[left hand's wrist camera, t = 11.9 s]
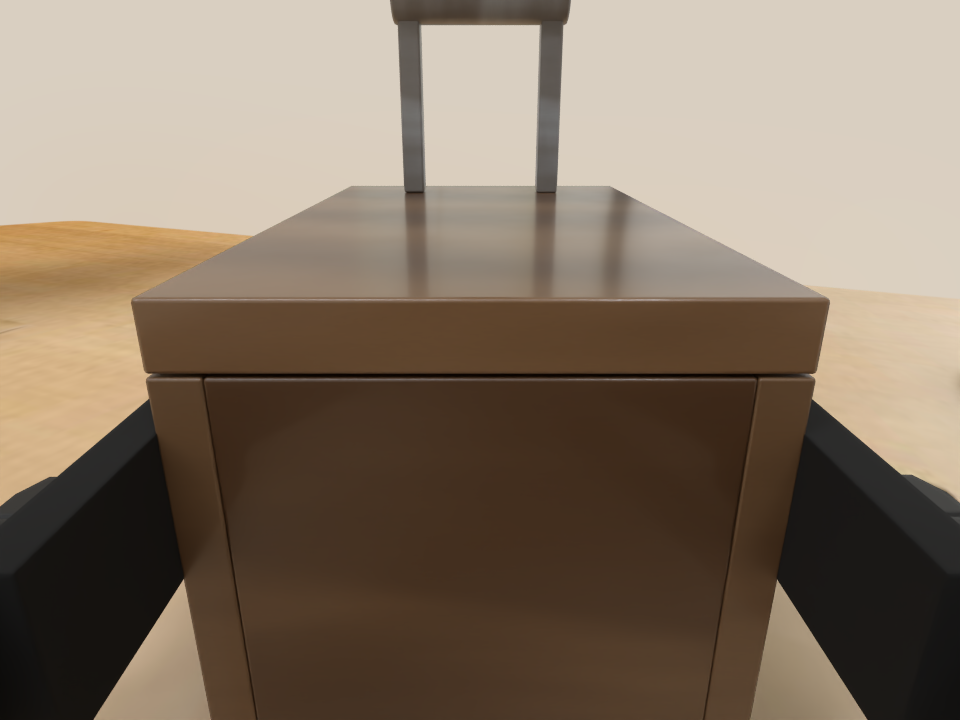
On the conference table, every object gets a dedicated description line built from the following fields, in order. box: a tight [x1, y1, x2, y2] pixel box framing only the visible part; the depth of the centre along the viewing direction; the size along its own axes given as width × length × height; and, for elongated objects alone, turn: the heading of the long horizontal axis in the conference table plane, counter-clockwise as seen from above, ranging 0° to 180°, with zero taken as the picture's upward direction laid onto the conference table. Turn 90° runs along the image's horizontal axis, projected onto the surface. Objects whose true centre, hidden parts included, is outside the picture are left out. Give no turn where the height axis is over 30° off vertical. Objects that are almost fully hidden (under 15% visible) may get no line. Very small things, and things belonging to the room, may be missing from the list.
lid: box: [131, 0, 830, 374], centre depth 16 cm, size 17×10×8 cm, turn 0°
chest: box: [146, 374, 815, 720], centre depth 19 cm, size 16×10×9 cm, turn 0°
